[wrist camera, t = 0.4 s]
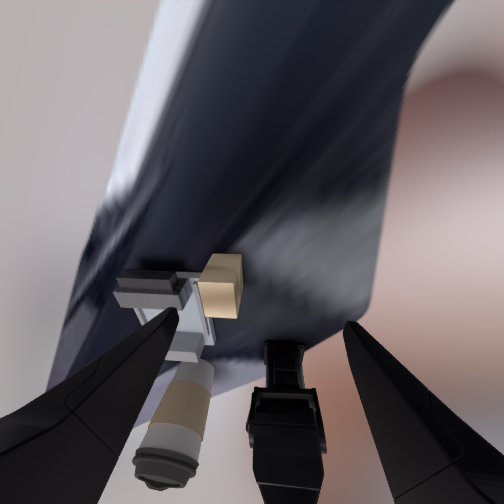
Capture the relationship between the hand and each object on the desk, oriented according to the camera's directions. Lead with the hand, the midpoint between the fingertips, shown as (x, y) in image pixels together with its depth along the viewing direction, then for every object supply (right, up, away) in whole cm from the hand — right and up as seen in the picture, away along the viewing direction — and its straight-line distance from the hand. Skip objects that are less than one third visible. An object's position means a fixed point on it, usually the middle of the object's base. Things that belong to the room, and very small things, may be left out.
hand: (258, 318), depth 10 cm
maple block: (-3, +1, +14) cm, 15 cm away
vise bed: (-12, -5, +19) cm, 23 cm away
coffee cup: (-11, -19, +27) cm, 35 cm away
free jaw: (-12, 0, +14) cm, 19 cm away
